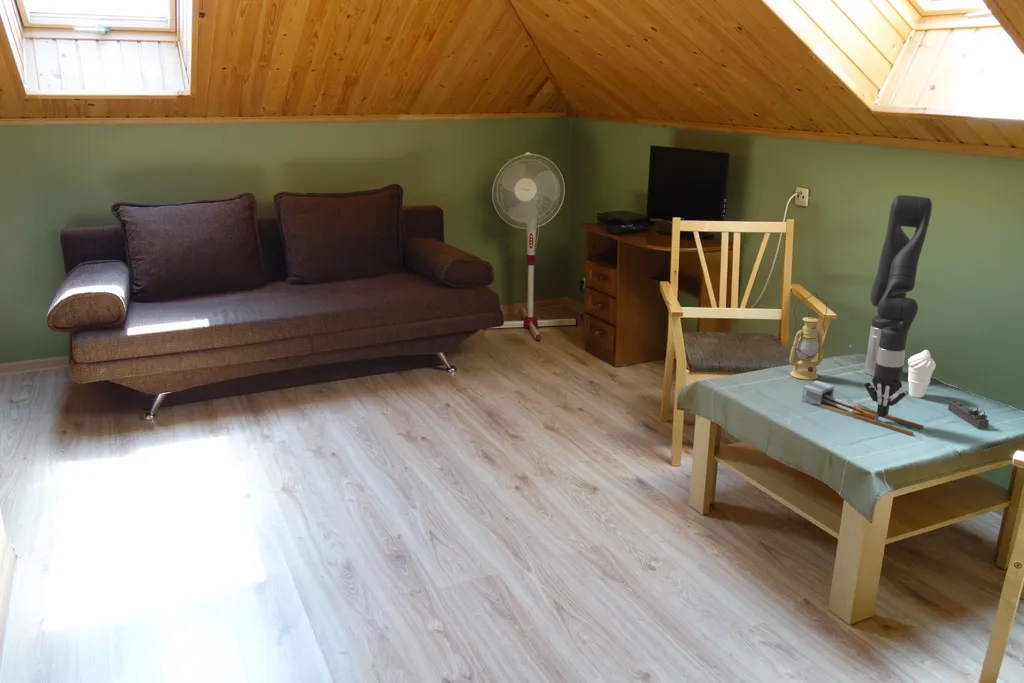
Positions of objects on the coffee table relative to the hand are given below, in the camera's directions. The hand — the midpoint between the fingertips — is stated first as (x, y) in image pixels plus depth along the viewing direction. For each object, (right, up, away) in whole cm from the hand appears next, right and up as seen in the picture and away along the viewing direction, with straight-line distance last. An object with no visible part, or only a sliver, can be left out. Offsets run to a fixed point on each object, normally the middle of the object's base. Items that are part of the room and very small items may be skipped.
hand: (882, 415), depth 248 cm
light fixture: (+27, -2, +2) cm, 27 cm away
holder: (-5, 0, +6) cm, 7 cm away
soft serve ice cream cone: (+20, +5, +20) cm, 29 cm away
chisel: (-7, 0, +8) cm, 11 cm away
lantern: (-10, +10, +38) cm, 41 cm away
